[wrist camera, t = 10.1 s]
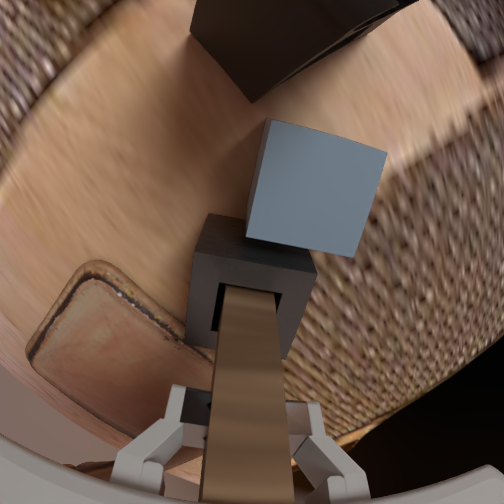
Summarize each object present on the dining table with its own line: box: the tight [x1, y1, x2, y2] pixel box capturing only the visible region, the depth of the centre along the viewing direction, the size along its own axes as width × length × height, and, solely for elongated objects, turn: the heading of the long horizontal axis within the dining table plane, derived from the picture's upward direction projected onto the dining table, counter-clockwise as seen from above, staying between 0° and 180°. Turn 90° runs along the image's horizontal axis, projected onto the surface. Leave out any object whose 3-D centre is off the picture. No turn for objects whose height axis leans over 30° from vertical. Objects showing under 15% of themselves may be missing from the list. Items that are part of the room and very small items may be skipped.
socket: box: [184, 213, 317, 360], centre depth 18 cm, size 6×6×6 cm
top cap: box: [246, 118, 387, 258], centre depth 16 cm, size 6×6×5 cm
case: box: [25, 260, 215, 482], centre depth 19 cm, size 20×21×16 cm
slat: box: [198, 283, 295, 504], centre depth 11 cm, size 2×2×16 cm
